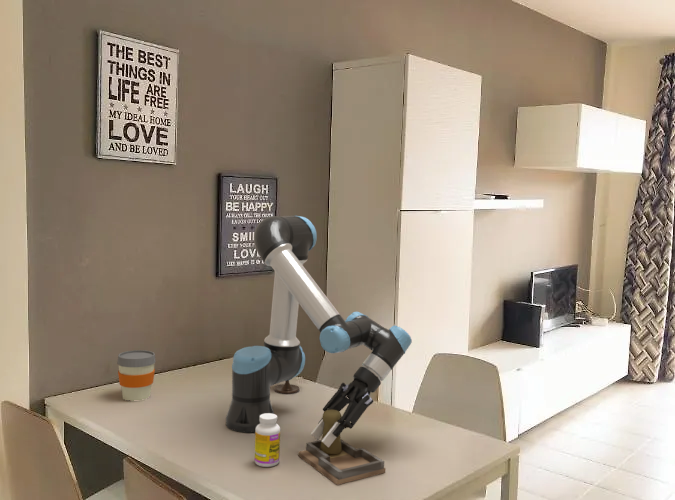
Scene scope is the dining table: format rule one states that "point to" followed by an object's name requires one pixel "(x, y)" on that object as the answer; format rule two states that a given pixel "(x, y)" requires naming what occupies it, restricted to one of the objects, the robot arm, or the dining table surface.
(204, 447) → the dining table surface
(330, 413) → the olive tall rounded piece
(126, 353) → the reusable coffee cup
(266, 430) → the supplement bottle
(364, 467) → the keyhole board
